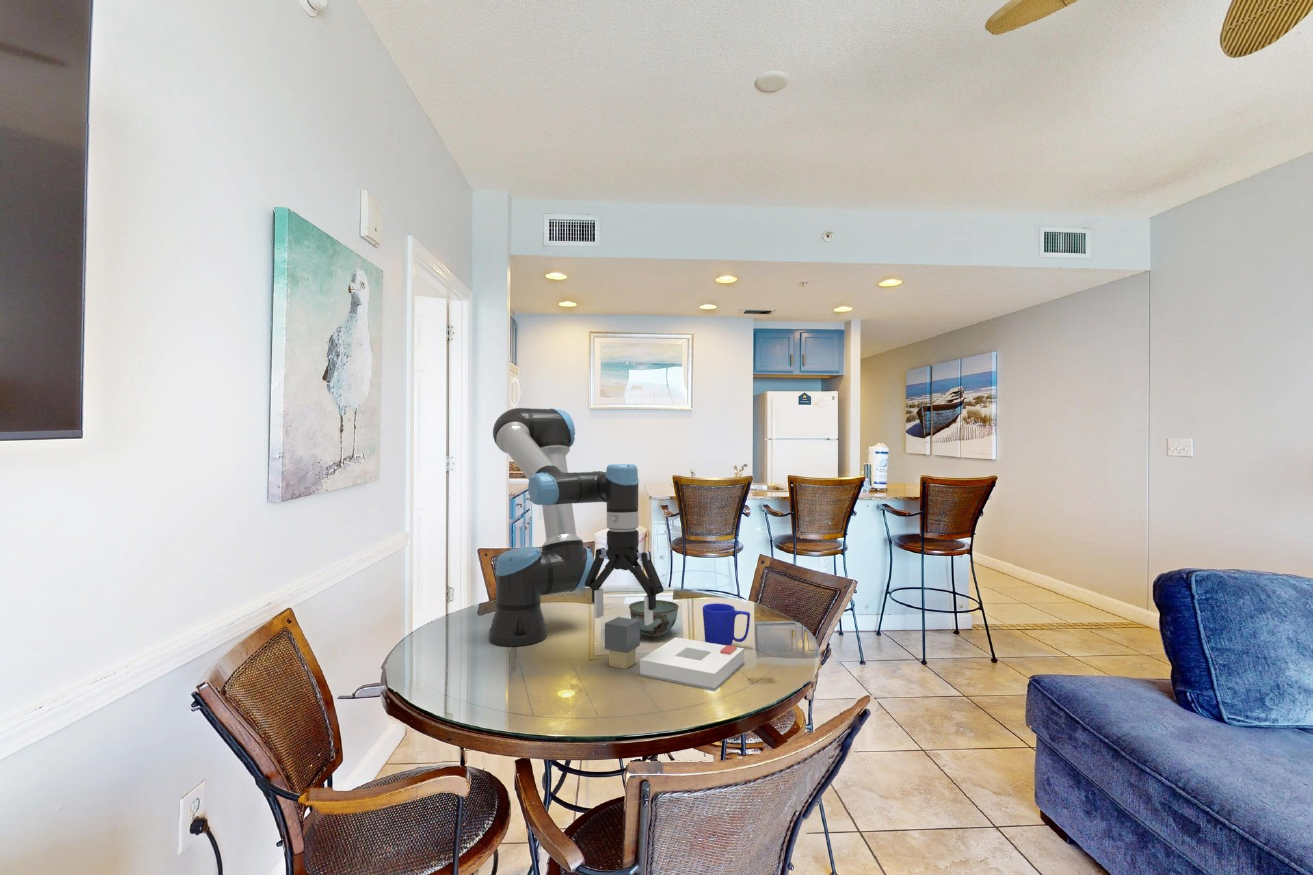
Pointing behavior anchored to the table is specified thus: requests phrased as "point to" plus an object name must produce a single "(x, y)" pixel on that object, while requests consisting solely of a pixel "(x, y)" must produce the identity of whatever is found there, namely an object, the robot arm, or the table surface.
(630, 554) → the robot arm
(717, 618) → the mug
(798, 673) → the table surface
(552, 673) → the table surface
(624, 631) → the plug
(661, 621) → the bowl
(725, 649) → the socket plate
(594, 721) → the table surface
